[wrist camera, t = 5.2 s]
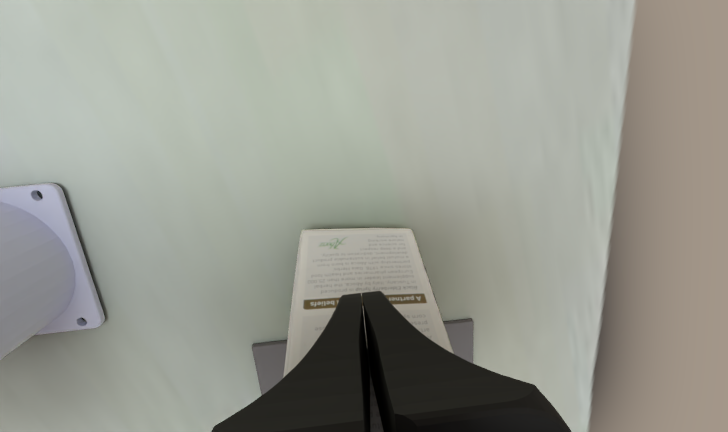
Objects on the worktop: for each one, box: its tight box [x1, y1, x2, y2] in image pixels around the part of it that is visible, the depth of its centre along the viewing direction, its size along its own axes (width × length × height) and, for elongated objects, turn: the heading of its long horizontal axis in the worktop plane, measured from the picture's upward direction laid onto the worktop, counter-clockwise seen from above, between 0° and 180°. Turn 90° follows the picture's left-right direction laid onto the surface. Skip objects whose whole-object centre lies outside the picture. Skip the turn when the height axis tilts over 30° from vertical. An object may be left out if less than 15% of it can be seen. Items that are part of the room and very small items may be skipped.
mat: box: [252, 319, 473, 395], centre depth 24 cm, size 13×14×1 cm
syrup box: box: [283, 228, 454, 432], centre depth 14 cm, size 6×6×14 cm
